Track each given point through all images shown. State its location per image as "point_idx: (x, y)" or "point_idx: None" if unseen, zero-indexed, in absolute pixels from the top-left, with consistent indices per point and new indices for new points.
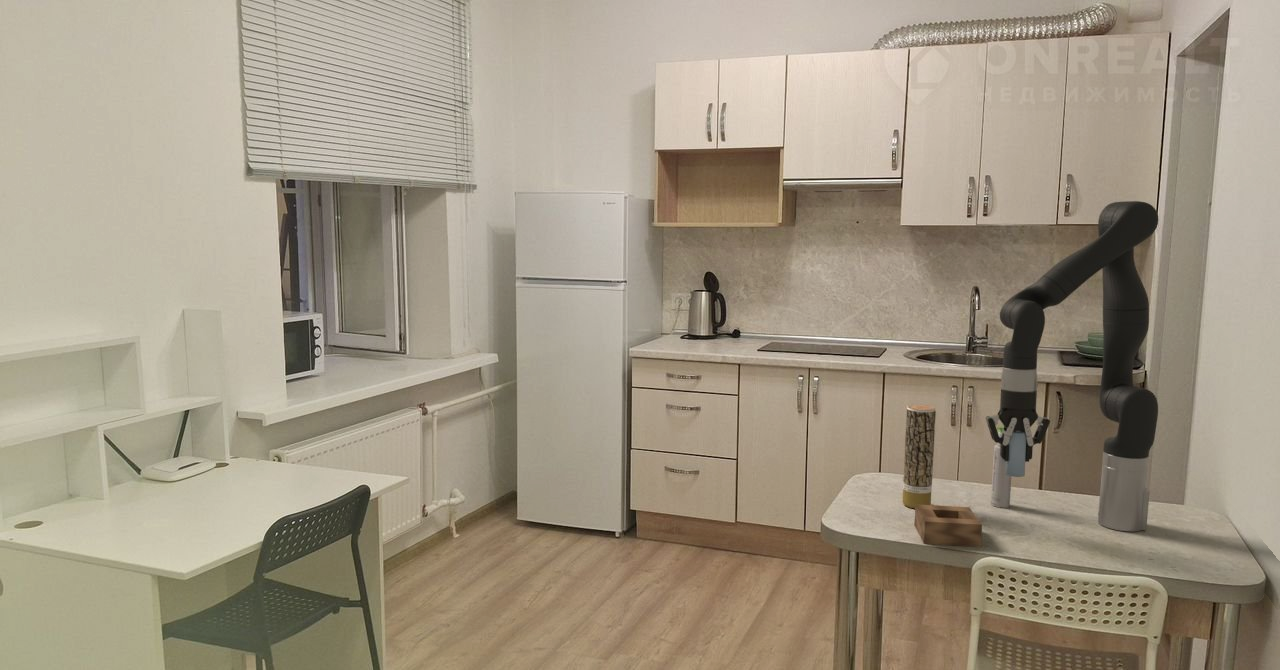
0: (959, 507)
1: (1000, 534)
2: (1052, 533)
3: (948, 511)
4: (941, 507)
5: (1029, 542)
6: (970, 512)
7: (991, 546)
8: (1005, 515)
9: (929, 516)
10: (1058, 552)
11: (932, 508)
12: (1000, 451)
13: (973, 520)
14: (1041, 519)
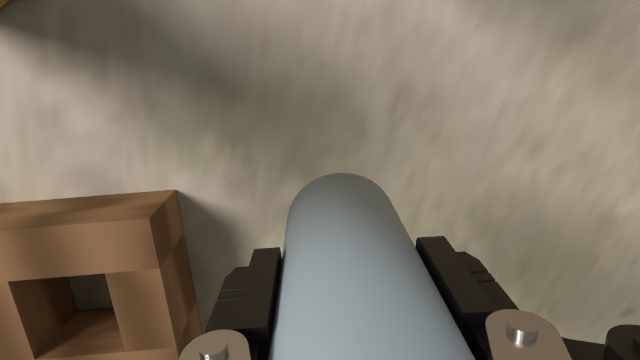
0: (110, 232)
1: (273, 222)
2: (442, 173)
3: (72, 273)
4: (40, 249)
5: None
6: (151, 280)
7: None
8: (328, 3)
9: (7, 356)
10: None
11: (6, 270)
12: (219, 303)
13: (158, 358)
14: (454, 22)
